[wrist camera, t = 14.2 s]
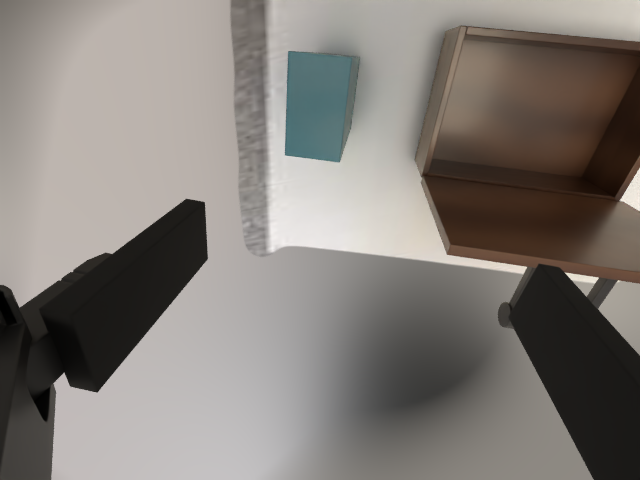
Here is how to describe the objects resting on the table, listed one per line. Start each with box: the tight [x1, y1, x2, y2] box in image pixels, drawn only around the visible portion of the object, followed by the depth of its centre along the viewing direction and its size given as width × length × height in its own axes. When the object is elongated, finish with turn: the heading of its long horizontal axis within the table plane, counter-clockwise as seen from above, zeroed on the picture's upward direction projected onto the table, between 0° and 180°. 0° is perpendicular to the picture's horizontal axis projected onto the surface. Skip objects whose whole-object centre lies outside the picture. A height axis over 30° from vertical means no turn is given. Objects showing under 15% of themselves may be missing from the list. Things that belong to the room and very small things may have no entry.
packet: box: [285, 51, 360, 162], centre depth 31 cm, size 8×5×14 cm, turn 175°
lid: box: [421, 176, 640, 329], centre depth 28 cm, size 14×19×8 cm
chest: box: [415, 26, 640, 201], centre depth 32 cm, size 13×19×7 cm
